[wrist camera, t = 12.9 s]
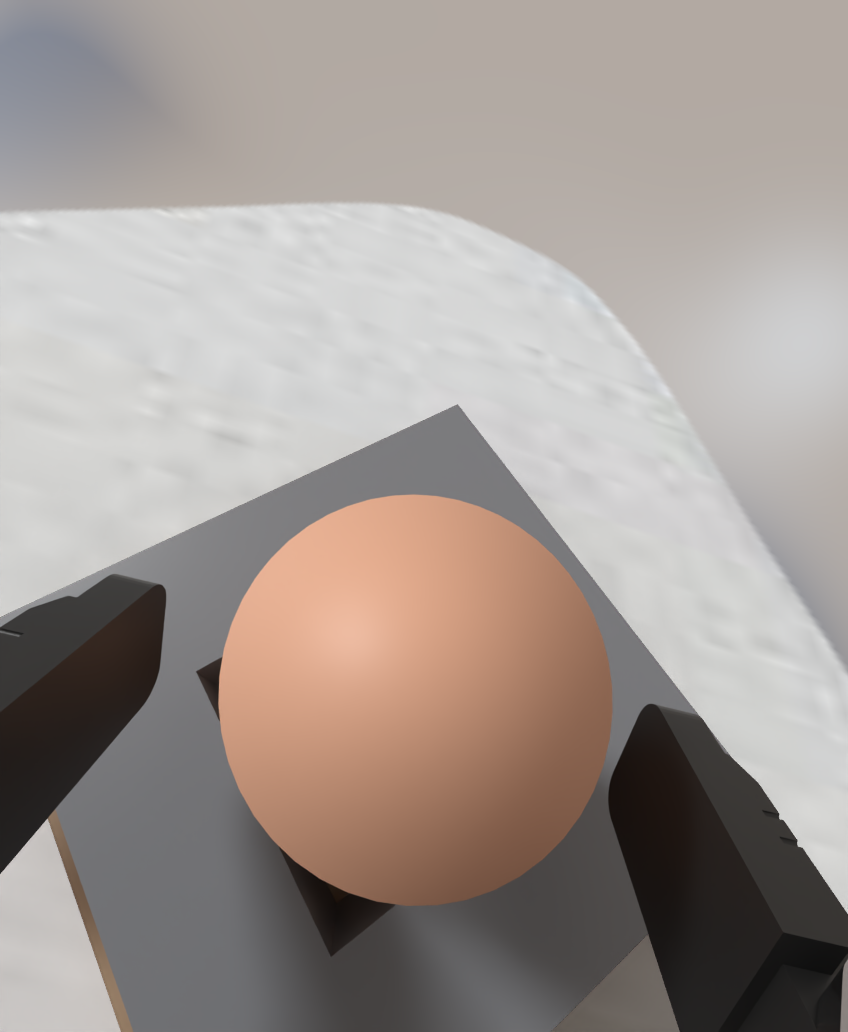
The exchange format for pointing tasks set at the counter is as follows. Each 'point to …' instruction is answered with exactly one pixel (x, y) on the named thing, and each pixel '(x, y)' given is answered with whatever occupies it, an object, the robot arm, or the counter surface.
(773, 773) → the counter surface
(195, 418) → the counter surface
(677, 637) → the counter surface
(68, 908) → the counter surface
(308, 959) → the socket
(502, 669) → the peg
